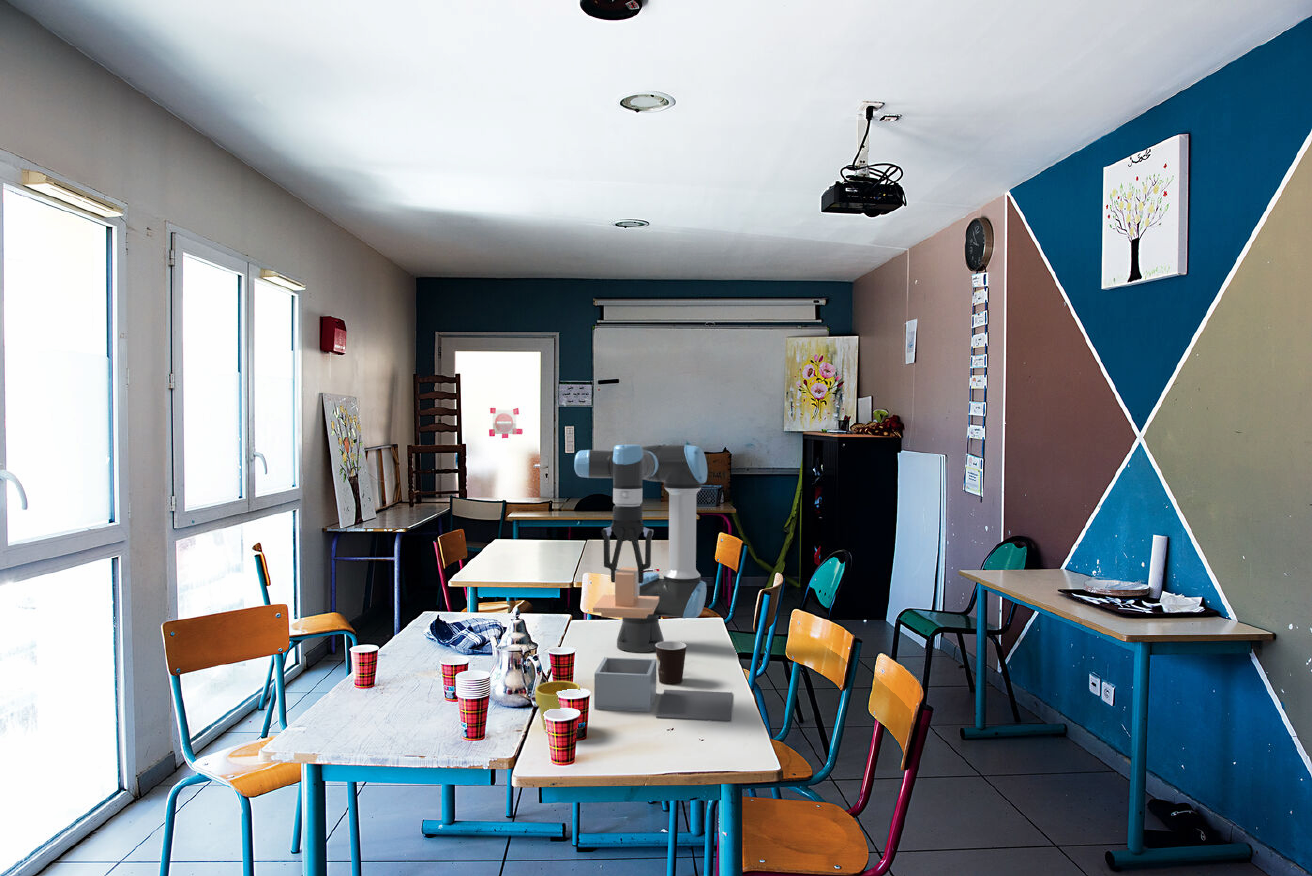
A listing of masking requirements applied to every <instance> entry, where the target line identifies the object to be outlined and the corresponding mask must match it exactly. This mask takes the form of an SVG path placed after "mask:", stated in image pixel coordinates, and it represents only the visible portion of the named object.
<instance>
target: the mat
mask: <svg viewBox="0 0 1312 876" xmlns="http://www.w3.org/2000/svg"><path fill="white" fill-rule="evenodd" d="M732 702H733V692H731V691H729V692H728V691H727V692H726V691H709V690H708V691H707V690H705V691H704V690H686V689H685V690H683V689H663V692H662V696H661V700H660V702H659V706H658V709H657V713H656V716H655V717H656V719H669V720H672V719H673V720H687V721H688V720H689V721H690V720H691V721H693V720H694V721H708V720H711V721H713V722H729V721H731V722H732V707H733V705H732ZM711 721H710V722H711Z"/></svg>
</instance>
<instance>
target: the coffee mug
mask: <svg viewBox="0 0 1312 876" xmlns="http://www.w3.org/2000/svg"><path fill="white" fill-rule="evenodd" d="M655 646H656V651H655V655H656V666H657V673H658V682H659V683H660V684H662V685H666V686H667V685H668V686H674V685H680V684H681V682H682V683H683V675H684V669H685V660H686V651H687V644H686V643H685V642H681V641H676V640H675V641H674V640H673V641H672V640H668V641H667V640H666V641H665V640H664V642H659V643H657V644H656V645H655Z"/></svg>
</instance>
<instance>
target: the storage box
mask: <svg viewBox="0 0 1312 876" xmlns="http://www.w3.org/2000/svg"><path fill="white" fill-rule="evenodd" d="M593 680H594V685H593V686H594V687H593V688H594V689H593V692H594V697H593V698H594V701H593V702H594V703H593V704H594V708H593V709H594V710H602V711H604V710H605V711H606V710H607V711H623V710H626V712H646V713H647V712H649V713H650V712H651V710H652V708H653V704H654V701H655V698H656V696H657V658H656V659H655V658H634V657H633V658H631V657H630V658H629V657H605V656H604V658H603V659H602V660H601V662H600V664H599V665H598V667H597V668H596V671H595V672H594V679H593Z"/></svg>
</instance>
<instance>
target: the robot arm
mask: <svg viewBox="0 0 1312 876" xmlns="http://www.w3.org/2000/svg"><path fill="white" fill-rule="evenodd" d="M573 467H574V471H575V474H576V475H577V476H578V477H580V478H587V479H590V478H591V479H613V480H612V481H613V482H612V483H613V485H612V487H613V488H612V489H613V490H612V503H613V504H614V505H613V507H612V523H611V524H610V526H609V527H606V528H605V527H604V528H603V529H602V530H601V536H602V538H603V568H605V569H606V568H607V569H609V570H610V581H611V583H614V584H615V577H616V573H617V572H618V571H619V570H620V568H618V563H619V559H620V555H621V552H622V546H623V542H626V541H627V542H631V545H632V548H633V551H634V552H633V553H634V556H635V562H636V566H637V567H636V568H638V570H636V571H635V597H638V596H659V603H658V605H657V607H656V609H655V611H654V613H653V614H648V616H647V618H622V622H621V626H620V629H619V632H618V635H617V638H616V647H617V649H618V650H621V649H622V650H621V651H624V650H626V651H625V652H628V651H630V652H629V653H651V652H650V651H653V652H656V646H655V645H656V644H657V643H659V642H664V641H665V639H664V638H665V637H664V636H663V633H662V628H661V625H660V622H659V616H660V617H670V618H672V617H673V618H681V619H682V618H683V619H684V620H685V619H696V618H698V617H700V615H701V613H702V612H703V609H704V606H705V603H706V597H707V589H708V588H707V583H706V582H705V581H703V580H702V579H701V578H702V577H701V573H699V571H698V570H697V567H696V566H697V565H696V564H697V562H696V561H697V494H698V492H700V490H701V489H702V484H705V483H706V482H707V479H708V464H707V458H706V455H705V452H704V450H703V449H702V448H701V447H700V446H698V445H689V444H686V445H685V444H683V445H682V444H680V445H677V444H675V445H673V444H671V445H670V444H669V445H668V444H664V445H662V444H654V445H647V446H641V445H640V444H616V445H615V446H614V447H613V450H605V449H604V450H603V449H602V450H601V449H600V450H597V449H596V450H594V449H585V450H584V449H583V450H582V449H581V450H579V451H578V452H577V453H576V454H575V456H574V466H573ZM643 480H645V481H649V482H661V483H664V489H665V491H666V492H668V495H669V496H668V569H667V570H666V571H665V572H664V573H663V578H661V577H660V574H659V573H658V572H653V571H652V572H644V571H645V570H648V569H650V567H651V565H652V537H653V536H654V529H652V528H647V527H645V525H644V524H643V506H642V505H641V504H642V503H643ZM642 532H643V537H645V545H644V546H645V548H644V549H645V551H644V553H645V554H644V555H645V556H644V561H643V557H642V552H641V548H640V544H639V537H640V535H641V534H642ZM612 533H613V534H614V536H615V537H616V538H617V540H616V542H615V543H616V544H615V547H614V552H613V556H612V562H611V540H610V539H611V538H610V537H611V536H612Z"/></svg>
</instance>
